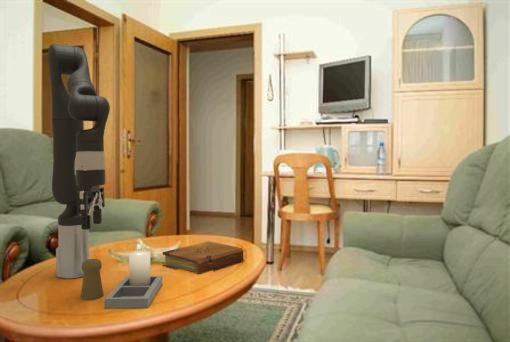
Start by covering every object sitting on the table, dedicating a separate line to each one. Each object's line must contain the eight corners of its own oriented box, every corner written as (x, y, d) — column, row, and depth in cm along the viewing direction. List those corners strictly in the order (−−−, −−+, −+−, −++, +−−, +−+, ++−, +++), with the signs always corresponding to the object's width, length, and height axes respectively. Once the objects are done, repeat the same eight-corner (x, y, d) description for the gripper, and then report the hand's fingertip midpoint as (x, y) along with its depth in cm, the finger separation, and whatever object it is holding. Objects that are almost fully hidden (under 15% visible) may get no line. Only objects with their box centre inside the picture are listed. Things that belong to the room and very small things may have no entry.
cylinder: (126, 293, 112) (126, 255, 112) (132, 286, 118) (132, 250, 118) (148, 293, 113) (147, 255, 112) (152, 286, 119) (152, 249, 118)
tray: (104, 310, 101) (104, 299, 101) (126, 286, 120) (125, 276, 120) (147, 310, 102) (147, 298, 102) (162, 285, 121) (162, 275, 121)
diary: (198, 278, 130) (198, 260, 130) (162, 267, 142) (162, 252, 142) (243, 262, 148) (243, 247, 148) (208, 254, 160) (208, 240, 160)
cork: (89, 304, 106) (88, 263, 105) (75, 299, 109) (75, 260, 109) (108, 297, 111) (107, 258, 110) (94, 293, 114) (94, 255, 114)
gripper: (86, 167, 116) (88, 222, 116) (65, 169, 101) (67, 231, 102) (112, 167, 116) (113, 221, 116) (95, 168, 102) (96, 231, 102)
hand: (92, 226), depth 109 cm, fingers open, 8 cm apart
